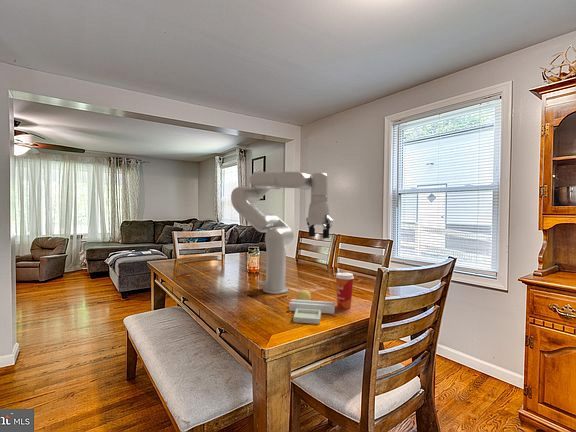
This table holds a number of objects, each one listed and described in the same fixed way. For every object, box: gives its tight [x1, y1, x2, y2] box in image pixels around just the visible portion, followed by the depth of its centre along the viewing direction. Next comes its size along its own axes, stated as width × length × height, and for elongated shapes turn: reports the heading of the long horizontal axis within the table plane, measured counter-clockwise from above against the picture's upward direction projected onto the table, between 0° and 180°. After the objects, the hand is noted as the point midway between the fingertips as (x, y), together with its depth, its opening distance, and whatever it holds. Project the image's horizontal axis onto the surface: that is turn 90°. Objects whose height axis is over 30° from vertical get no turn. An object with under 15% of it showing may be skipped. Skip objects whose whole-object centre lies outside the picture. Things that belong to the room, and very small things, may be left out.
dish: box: [292, 308, 322, 325], centre depth 113 cm, size 10×10×2 cm
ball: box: [296, 289, 312, 301], centre depth 129 cm, size 6×6×6 cm
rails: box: [288, 298, 336, 315], centre depth 122 cm, size 18×5×3 cm, turn 81°
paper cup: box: [335, 272, 355, 310], centre depth 126 cm, size 8×8×14 cm
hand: (318, 237), depth 138 cm, fingers open, 9 cm apart
